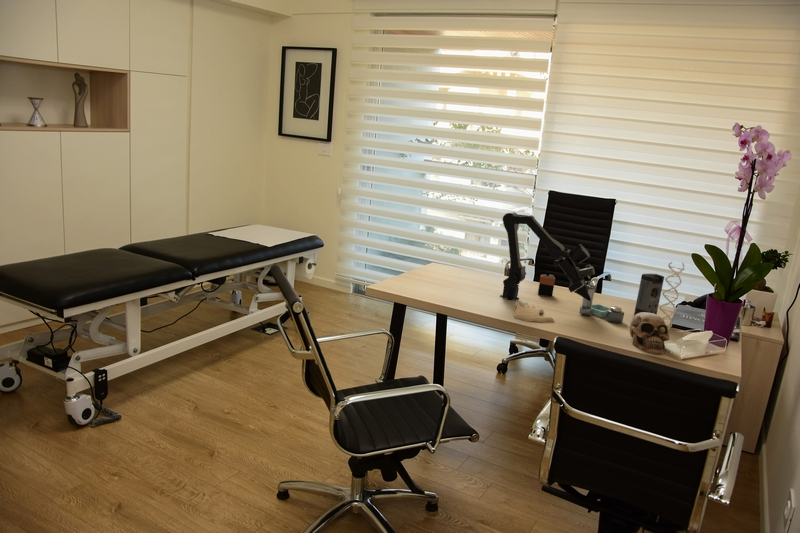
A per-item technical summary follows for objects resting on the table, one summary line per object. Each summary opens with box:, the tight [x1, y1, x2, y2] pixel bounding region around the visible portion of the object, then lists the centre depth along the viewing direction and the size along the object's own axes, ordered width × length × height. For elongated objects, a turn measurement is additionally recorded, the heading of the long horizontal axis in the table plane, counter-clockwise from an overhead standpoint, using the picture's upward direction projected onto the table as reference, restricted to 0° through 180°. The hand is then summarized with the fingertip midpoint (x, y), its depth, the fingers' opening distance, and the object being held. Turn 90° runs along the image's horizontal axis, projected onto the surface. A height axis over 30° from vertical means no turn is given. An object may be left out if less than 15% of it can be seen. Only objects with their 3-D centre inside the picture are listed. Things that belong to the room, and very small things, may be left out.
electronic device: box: [633, 273, 665, 317], centre depth 270 cm, size 9×6×20 cm, turn 117°
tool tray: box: [591, 303, 611, 318], centre depth 273 cm, size 10×10×3 cm
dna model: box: [659, 261, 685, 330], centre depth 250 cm, size 7×6×30 cm
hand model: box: [513, 300, 555, 323], centre depth 258 cm, size 19×5×20 cm
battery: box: [537, 273, 556, 298], centre depth 295 cm, size 4×7×10 cm, turn 75°
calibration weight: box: [604, 305, 625, 325], centre depth 262 cm, size 7×7×6 cm
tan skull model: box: [629, 312, 670, 356], centre depth 234 cm, size 16×17×13 cm
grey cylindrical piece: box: [579, 283, 597, 316], centre depth 267 cm, size 5×5×12 cm
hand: (591, 299), depth 266 cm, fingers closed on grey cylindrical piece, 4 cm apart
